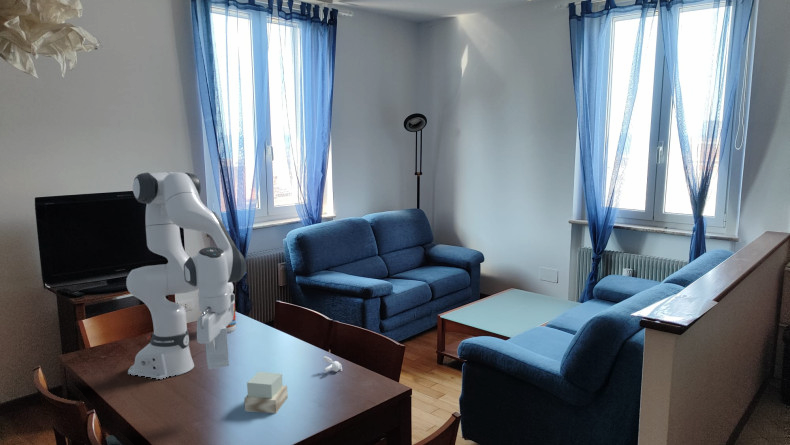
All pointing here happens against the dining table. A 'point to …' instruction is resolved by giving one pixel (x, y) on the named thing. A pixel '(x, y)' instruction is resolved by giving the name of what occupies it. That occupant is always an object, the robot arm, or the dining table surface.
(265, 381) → the sage top block
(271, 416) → the dining table surface
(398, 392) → the dining table surface
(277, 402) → the birch base block
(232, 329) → the fruit juice
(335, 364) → the rabbit figurine
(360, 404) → the dining table surface
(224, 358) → the skincare box
